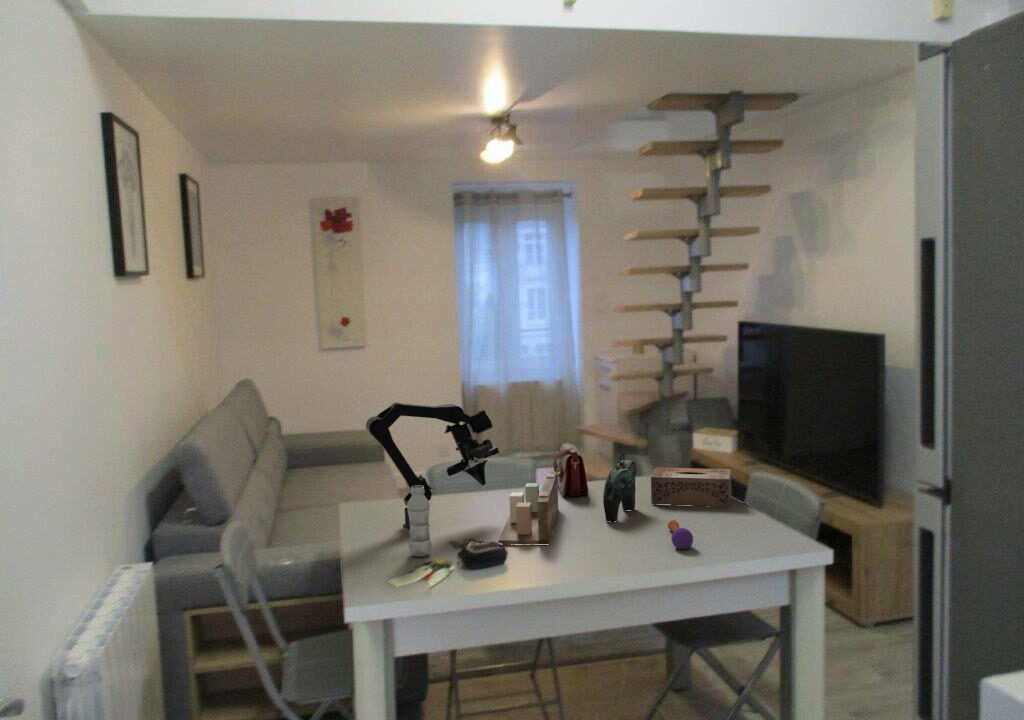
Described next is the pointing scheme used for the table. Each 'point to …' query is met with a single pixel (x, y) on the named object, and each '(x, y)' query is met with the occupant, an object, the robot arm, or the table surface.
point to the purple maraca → (680, 536)
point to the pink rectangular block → (524, 518)
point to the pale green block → (532, 495)
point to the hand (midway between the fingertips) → (483, 484)
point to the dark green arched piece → (620, 489)
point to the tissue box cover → (691, 487)
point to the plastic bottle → (419, 522)
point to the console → (537, 517)
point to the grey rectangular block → (515, 504)
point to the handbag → (570, 470)
